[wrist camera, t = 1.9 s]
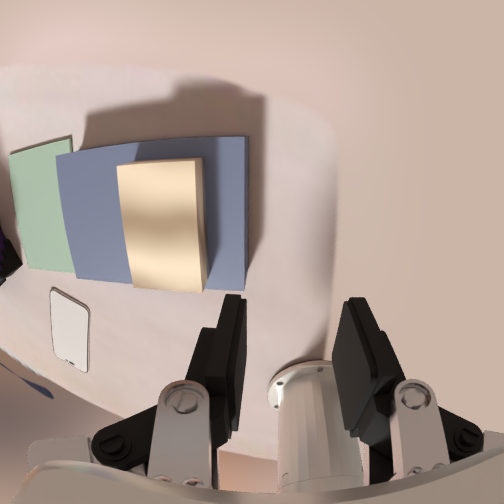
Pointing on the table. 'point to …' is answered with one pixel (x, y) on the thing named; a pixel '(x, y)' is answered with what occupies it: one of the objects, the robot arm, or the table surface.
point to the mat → (41, 206)
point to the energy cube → (7, 259)
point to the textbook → (109, 211)
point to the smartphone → (70, 330)
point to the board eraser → (165, 222)
